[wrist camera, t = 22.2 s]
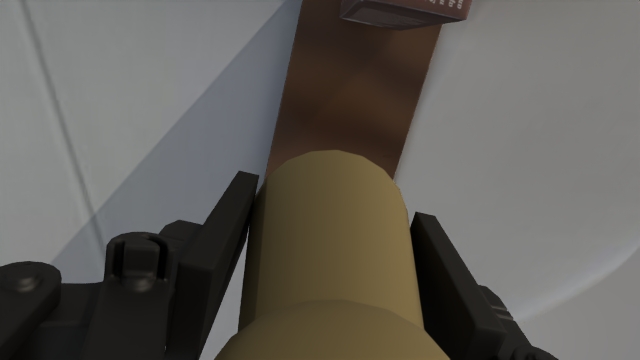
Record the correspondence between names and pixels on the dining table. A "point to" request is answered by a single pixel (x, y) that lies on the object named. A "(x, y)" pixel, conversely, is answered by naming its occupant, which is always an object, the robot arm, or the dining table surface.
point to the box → (404, 12)
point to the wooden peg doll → (330, 267)
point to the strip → (350, 87)
